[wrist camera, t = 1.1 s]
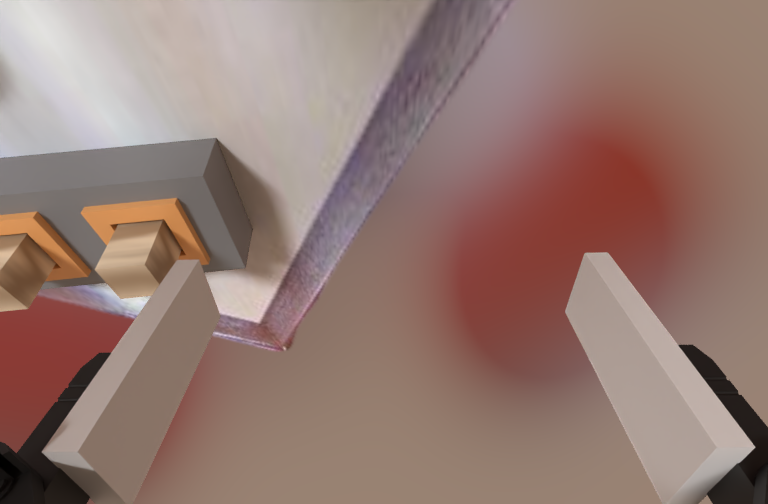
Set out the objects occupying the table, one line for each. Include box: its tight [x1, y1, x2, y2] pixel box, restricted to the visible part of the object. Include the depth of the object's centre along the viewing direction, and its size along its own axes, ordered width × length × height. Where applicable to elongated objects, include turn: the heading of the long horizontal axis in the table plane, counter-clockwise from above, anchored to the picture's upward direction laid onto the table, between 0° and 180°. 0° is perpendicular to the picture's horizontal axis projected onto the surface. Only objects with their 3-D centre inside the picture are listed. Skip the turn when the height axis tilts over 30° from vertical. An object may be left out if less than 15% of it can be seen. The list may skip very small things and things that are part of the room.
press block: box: [0, 138, 253, 289], centre depth 39 cm, size 12×26×7 cm, turn 93°
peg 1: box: [0, 233, 56, 312], centre depth 36 cm, size 4×4×7 cm
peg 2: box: [95, 219, 182, 299], centre depth 36 cm, size 4×4×7 cm
